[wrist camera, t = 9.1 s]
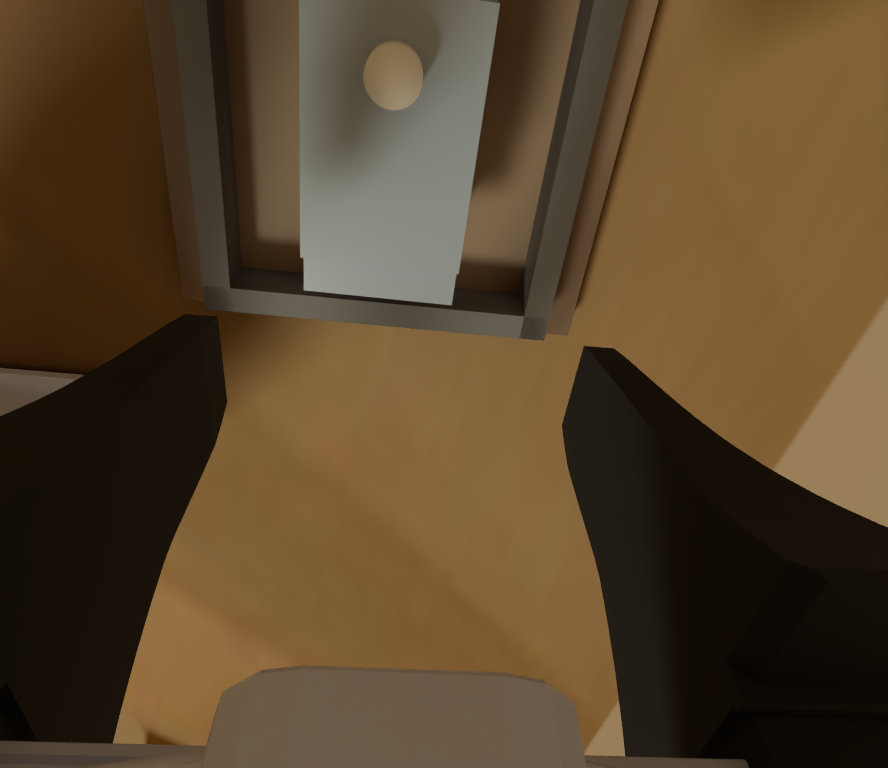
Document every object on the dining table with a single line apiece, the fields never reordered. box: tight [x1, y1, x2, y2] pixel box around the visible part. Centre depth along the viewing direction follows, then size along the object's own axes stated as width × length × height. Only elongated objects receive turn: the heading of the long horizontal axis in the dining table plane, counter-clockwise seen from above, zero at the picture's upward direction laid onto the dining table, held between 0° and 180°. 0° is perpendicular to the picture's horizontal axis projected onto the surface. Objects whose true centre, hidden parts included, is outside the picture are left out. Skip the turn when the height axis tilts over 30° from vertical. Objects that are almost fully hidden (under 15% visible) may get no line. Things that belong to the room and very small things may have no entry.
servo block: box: [299, 0, 500, 305], centre depth 16 cm, size 4×8×5 cm, turn 173°
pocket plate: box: [143, 0, 659, 341], centre depth 17 cm, size 13×14×2 cm
